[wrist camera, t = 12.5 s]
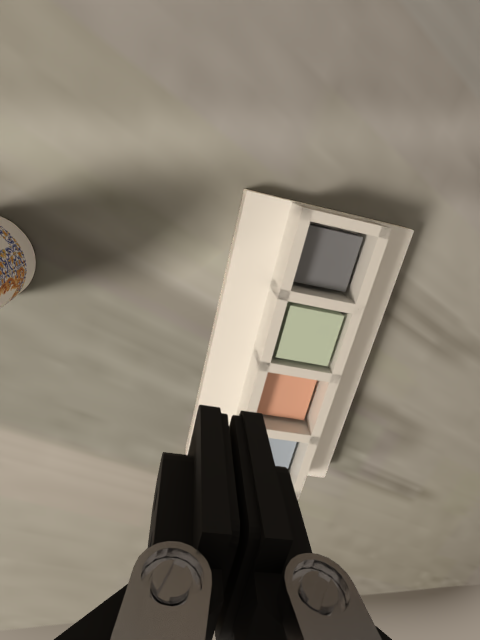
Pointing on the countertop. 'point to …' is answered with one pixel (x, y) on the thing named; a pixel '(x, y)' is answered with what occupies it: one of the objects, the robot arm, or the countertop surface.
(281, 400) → the key
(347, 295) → the white compartment tray
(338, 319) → the key
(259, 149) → the countertop surface
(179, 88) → the countertop surface
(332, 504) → the countertop surface
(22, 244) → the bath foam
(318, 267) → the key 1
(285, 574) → the robot arm
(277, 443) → the key
